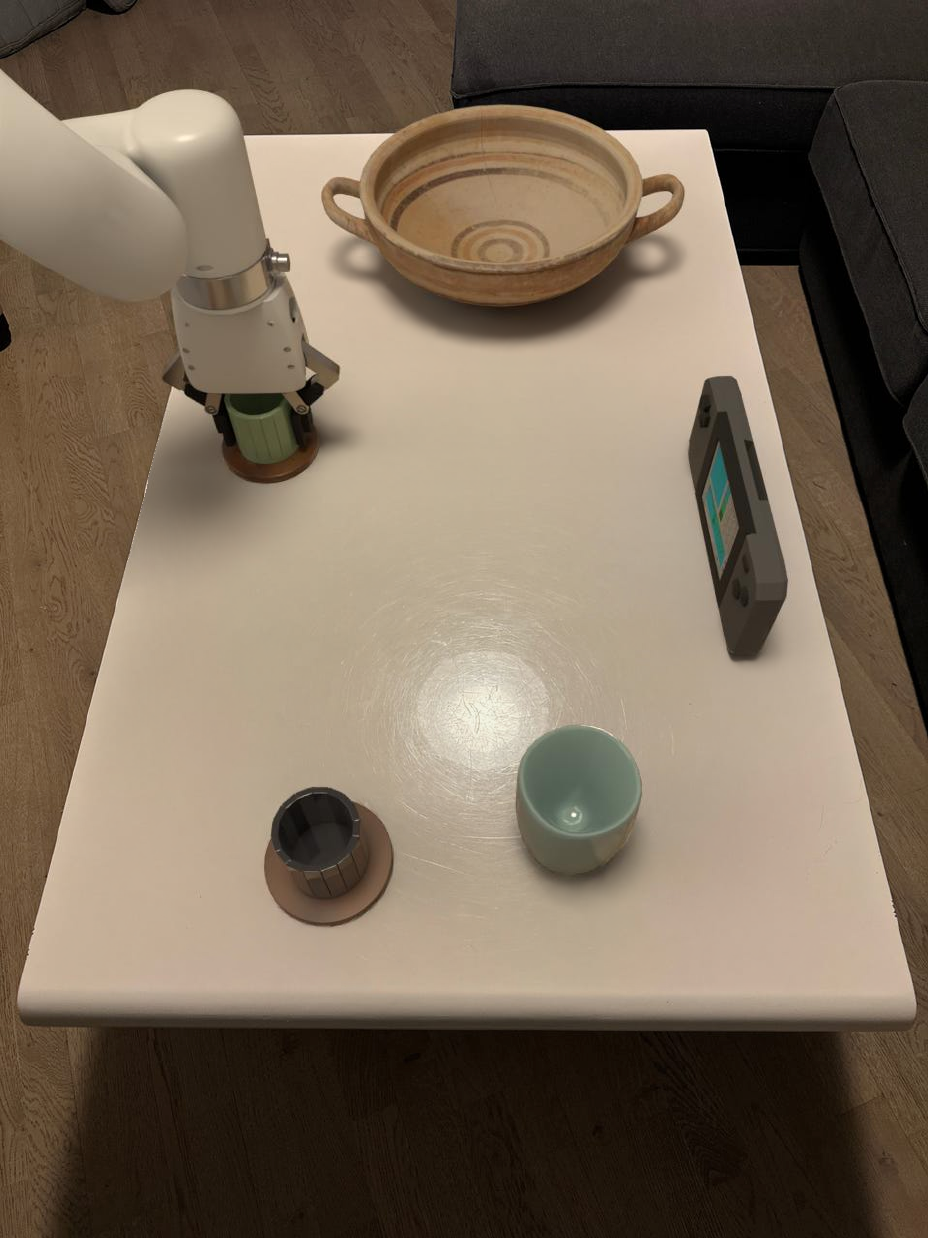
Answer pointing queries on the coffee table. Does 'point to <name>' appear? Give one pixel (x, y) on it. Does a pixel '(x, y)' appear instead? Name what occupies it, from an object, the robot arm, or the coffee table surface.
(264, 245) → the robot arm
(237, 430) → the green grooved mug
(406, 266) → the ceramic bowl
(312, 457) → the brown dish
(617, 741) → the cup
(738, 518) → the handheld gaming console
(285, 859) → the dark bucket
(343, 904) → the dark base
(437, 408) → the coffee table surface
